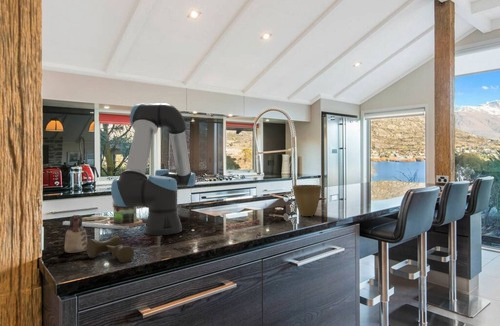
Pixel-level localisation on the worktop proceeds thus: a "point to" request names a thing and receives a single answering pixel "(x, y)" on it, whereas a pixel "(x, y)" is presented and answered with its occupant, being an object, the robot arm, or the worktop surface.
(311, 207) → the plant pot
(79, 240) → the figurine
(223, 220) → the worktop surface
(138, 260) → the worktop surface
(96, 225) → the flat rectangular tray
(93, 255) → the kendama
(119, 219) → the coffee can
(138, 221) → the marked ring
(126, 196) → the robot arm
